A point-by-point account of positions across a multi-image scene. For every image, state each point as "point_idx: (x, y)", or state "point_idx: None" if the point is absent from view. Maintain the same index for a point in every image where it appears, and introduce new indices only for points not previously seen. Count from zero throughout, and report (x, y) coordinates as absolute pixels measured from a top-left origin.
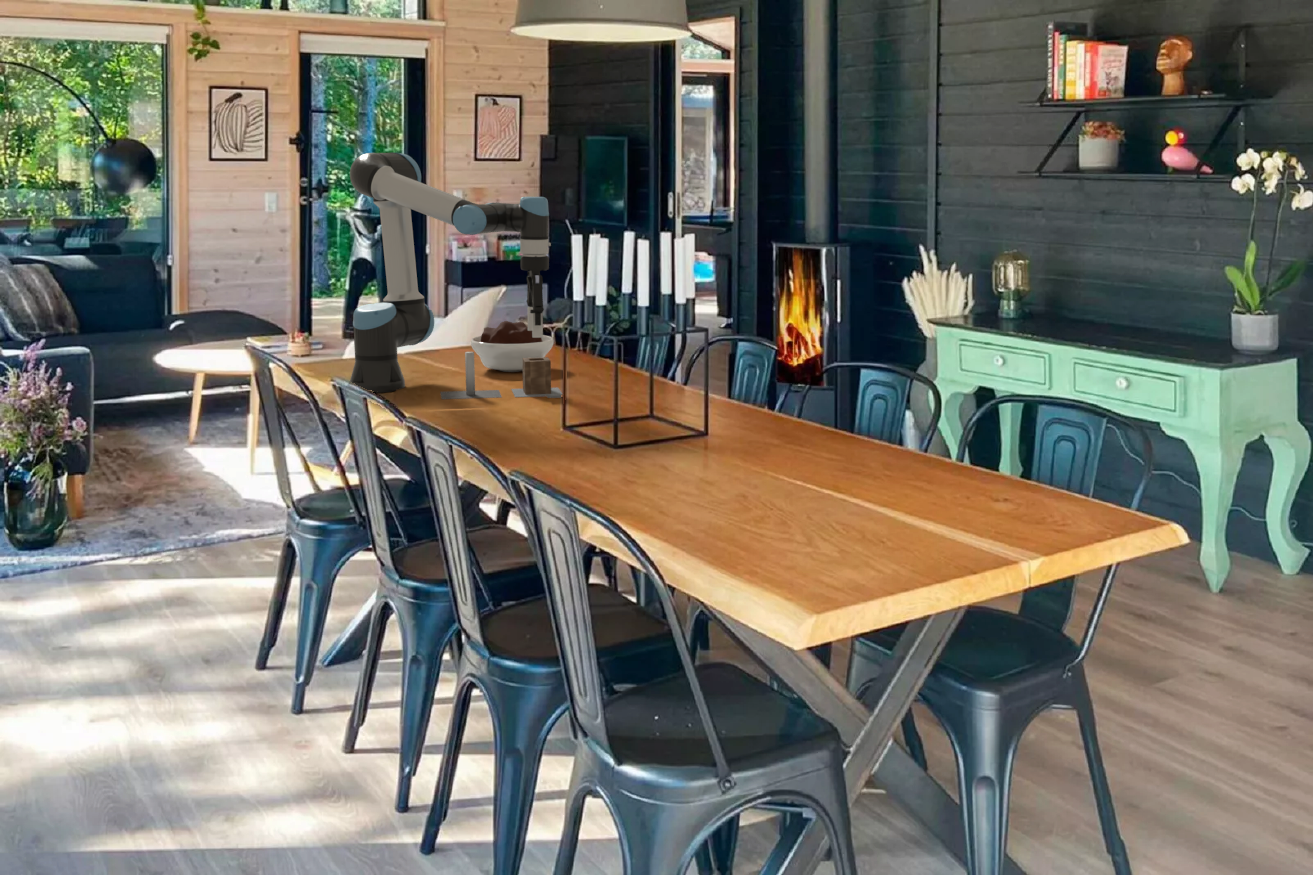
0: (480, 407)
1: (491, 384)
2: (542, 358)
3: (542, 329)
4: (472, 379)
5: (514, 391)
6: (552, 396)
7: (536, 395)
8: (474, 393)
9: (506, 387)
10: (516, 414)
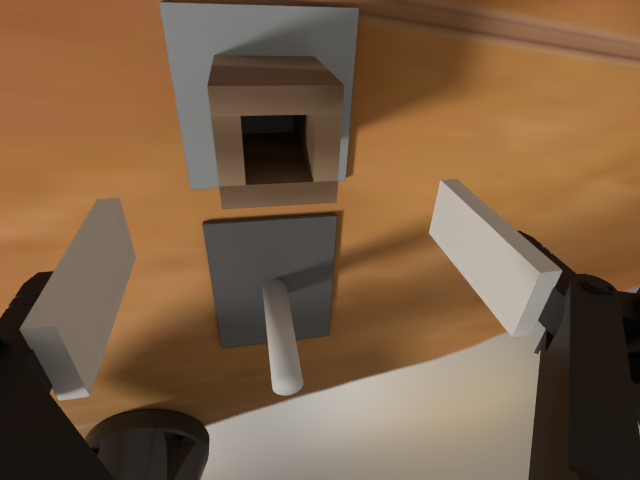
0: (434, 257)
1: (45, 243)
2: (240, 118)
3: (481, 203)
4: (290, 312)
5: None
6: (354, 55)
7: None
8: (281, 282)
9: None
10: (558, 181)
